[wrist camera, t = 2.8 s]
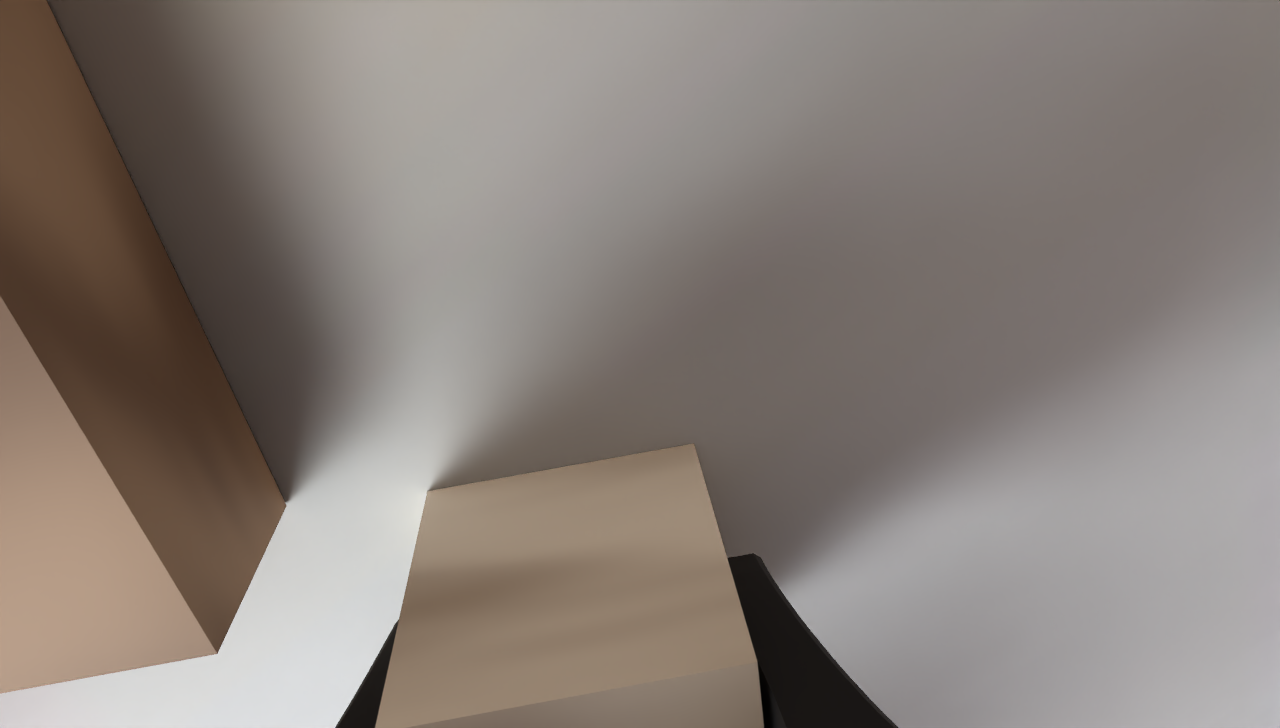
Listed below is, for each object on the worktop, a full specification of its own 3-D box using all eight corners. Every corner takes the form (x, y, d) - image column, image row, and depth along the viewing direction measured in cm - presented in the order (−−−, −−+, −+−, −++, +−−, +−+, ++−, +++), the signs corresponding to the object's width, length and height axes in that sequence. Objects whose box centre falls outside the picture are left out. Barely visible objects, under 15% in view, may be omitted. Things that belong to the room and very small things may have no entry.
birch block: (718, 628, 15) (778, 870, 11) (491, 671, 15) (471, 930, 11) (693, 442, 13) (756, 662, 9) (427, 490, 13) (373, 733, 9)
